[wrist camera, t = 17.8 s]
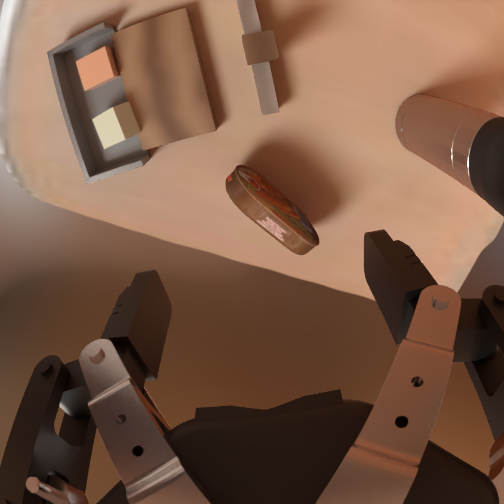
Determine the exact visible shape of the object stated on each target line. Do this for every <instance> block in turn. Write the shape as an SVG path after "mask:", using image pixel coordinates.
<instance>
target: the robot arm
mask: <svg viewBox="0 0 504 504" xmlns="http://www.w3.org/2000/svg"><path fill="white" fill-rule="evenodd" d="M396 131H397V135H398V137H399V140H400V141H401V143H402V144H403V146H404V147H405V148H406V149H408V150H409V151H411V152H412V153H414V154H416V155H417V156H419V157H421V158H422V159H424V160H426V161H427V162H429V163H430V164H432V165H434V166H435V167H437V168H438V169H440V170H442V171H443V172H445V173H446V174H448V175H449V176H451V177H452V178H454V179H455V180H457V181H458V182H460V183H461V184H463V185H464V186H466V187H467V188H469V189H470V190H472V191H473V192H474V193H476V194H477V195H479V196H480V197H481V198H483V199H484V200H485V201H486V202H487V203H488V204H489V205H490V206H492V207H493V208H494V209H495V210H496V211H497V212H499V213H500V214H501V215H502V216H504V117H502V116H499V115H496V114H493V113H490V112H486V111H483V110H480V109H477V108H473V107H470V106H467V105H463V104H459V103H456V102H452V101H448V100H444V99H440V98H436V97H432V96H427V95H414V96H411V97H410V98H408V99H407V100H406V101H404V102H403V104H402V105H401V107H400V108H399V111H398V113H397V117H396ZM364 273H365V278H366V281H367V283H368V285H369V288H370V290H371V292H372V294H373V296H374V298H375V300H376V302H377V304H378V306H379V308H380V310H381V312H382V314H383V317H384V319H385V321H386V323H387V325H388V327H389V330H390V332H391V334H392V336H393V339H394V341H395V343H396V344H400V343H401V345H400V348H399V350H398V353H397V355H396V358H395V360H394V363H393V365H392V367H391V370H390V372H389V374H388V377H387V379H386V381H385V384H384V386H383V388H382V390H381V392H380V394H379V397H378V399H377V401H376V403H375V405H373V404H370V403H366V402H363V401H359V400H352V399H342V395H341V392H340V389H339V390H334V391H329V392H324V393H318V394H313V395H308V396H303V397H301V398H298V399H295V400H293V401H291V402H288V403H285V404H282V405H280V406H277V407H274V408H271V409H267V410H262V409H252V408H245V407H237V406H219V407H204V408H196V413H195V418H193V419H191V420H188V421H186V422H183V423H181V424H179V425H177V426H176V427H174V428H173V429H172V428H171V427H170V426H169V424H168V423H167V422H166V420H165V419H164V417H163V415H162V414H161V412H160V411H159V410H158V408H157V406H156V405H155V403H154V402H153V400H152V399H151V397H150V395H149V394H148V392H147V391H146V389H145V388H144V383H145V380H157V376H158V371H159V366H160V361H161V357H162V353H163V348H164V344H165V340H166V335H167V331H168V327H169V323H170V318H171V314H172V308H171V303H170V300H169V297H168V295H167V293H166V291H165V288H164V286H163V284H162V282H161V279H160V277H159V275H158V273H157V271H155V270H150V271H144V272H140V273H136V275H135V277H134V279H133V281H132V283H131V286H130V287H127V288H126V289H125V290H124V291H123V292H122V293H121V295H120V296H119V297H118V300H117V302H116V304H115V307H114V308H113V311H112V315H110V318H109V320H108V322H107V325H106V327H105V329H104V332H103V334H102V337H101V339H99V340H96V341H93V342H91V343H90V344H88V345H87V346H86V347H85V349H84V350H83V351H82V352H81V354H80V358H79V359H78V360H75V361H72V362H69V363H66V364H64V363H63V362H62V361H61V359H60V358H59V357H57V356H55V355H52V356H48V357H45V358H44V359H42V360H41V361H40V362H39V363H38V364H37V365H36V367H35V369H34V371H33V374H32V376H31V378H30V381H29V383H28V386H27V388H26V390H25V393H24V396H23V399H22V401H21V404H20V406H19V409H18V412H17V415H16V417H15V420H14V423H13V426H12V429H11V432H10V435H9V439H8V442H7V445H6V448H5V452H4V455H3V459H2V462H1V466H0V504H89V502H88V499H87V497H86V495H85V490H86V483H87V476H88V470H89V465H90V459H91V454H92V448H93V443H94V438H95V433H96V429H98V431H99V434H100V436H101V438H102V440H103V443H104V445H105V447H106V449H107V451H108V454H109V456H110V458H111V460H112V462H113V464H114V466H115V468H116V470H117V472H118V474H119V476H120V478H121V480H120V481H119V482H118V483H117V484H116V485H115V486H114V487H113V488H112V489H111V490H110V491H109V492H108V493H107V494H106V495H105V496H104V497H103V498H102V499H101V500H100V501H99V502H98V503H97V504H504V356H503V355H504V287H503V286H500V285H492V286H489V287H487V288H486V289H485V290H484V292H483V295H482V298H481V299H462V298H460V297H459V295H458V294H457V292H456V291H454V290H453V289H451V288H449V287H447V286H443V285H438V284H437V282H436V281H435V279H434V278H433V277H432V275H431V274H430V273H429V271H428V270H427V269H426V267H425V266H424V265H423V263H421V261H420V259H419V258H418V257H417V256H416V254H415V253H414V252H413V250H412V249H411V248H410V246H408V245H406V244H405V243H403V242H401V241H400V240H396V241H393V240H392V239H391V237H390V236H389V235H388V233H387V232H386V231H385V230H378V231H372V232H367V233H365V235H364ZM499 348H500V349H499ZM500 350H501V351H500ZM501 352H502V353H501ZM461 361H462V362H464V364H465V366H466V368H467V370H468V373H469V375H470V377H471V380H472V382H473V384H474V387H475V389H476V391H477V394H478V396H479V399H480V401H481V404H482V406H483V409H484V412H485V414H486V417H487V420H488V422H489V425H490V428H491V431H492V434H493V437H494V440H495V442H494V443H493V444H492V446H491V449H490V452H489V468H490V470H489V475H488V476H487V475H486V474H484V473H483V472H481V471H480V470H478V469H476V468H474V467H472V466H471V465H469V464H468V463H466V462H464V461H463V460H461V459H459V458H458V457H456V456H454V455H453V454H451V453H449V452H448V451H446V450H444V449H443V448H441V447H440V446H438V445H436V444H435V443H433V442H432V441H430V440H429V438H430V435H431V432H432V430H433V427H434V424H435V421H436V418H437V415H438V412H439V409H440V405H441V402H442V399H443V396H444V392H445V389H446V385H447V381H448V377H449V374H450V369H451V366H452V362H461ZM59 407H61V408H62V409H63V410H64V411H65V414H64V417H63V421H62V424H61V428H60V432H59V436H58V435H57V434H56V432H55V429H54V421H55V418H56V414H57V411H58V408H59Z"/></svg>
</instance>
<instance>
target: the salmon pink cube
mask: <svg viewBox="0 0 504 504" xmlns="http://www.w3.org/2000/svg"><path fill="white" fill-rule="evenodd" d="M76 65H77V68H78V71H79V75H80V78H81V81H82V84H83V88H84V91H88V90H93V89H96V88H98V87H100V86H102V85H104V84H106V83H108V82H111V81H113V80H115V79H117V78H119V77H121V75H120V71H119V67H118V63H117V59H116V55H115V51H114V47H107V46H104V47H102V48H100V49H98V50H96V51H94V52H93V53H91V54H89V55H87V56H85V57H83V58H81V59H80V60H78V61H76Z"/></svg>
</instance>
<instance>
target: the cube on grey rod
mask: <svg viewBox="0 0 504 504" xmlns="http://www.w3.org/2000/svg"><path fill="white" fill-rule="evenodd" d="M236 3H237V7H238V11H239V15H240V19H241V23H242V27H243V31H244V35H242V42H243V47H244V51H245V55H246V60H247V64H248V65H252V70H253V74H254V79H255V83H256V88H257V92H258V97H259V102H260V106H261V111H262V114H263V115H266V114H271V113H277V112H279V108H278V103H277V98H276V93H275V88H274V83H273V78H272V74H271V69H270V64H269V62H270V61H274V60H276V59H277V58H279V53H278V49H277V44H276V40H275V35H274V31H273V30H268V31H262V29H261V25H260V21H259V17H258V13H257V9H256V5H255V1H254V0H236Z"/></svg>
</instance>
